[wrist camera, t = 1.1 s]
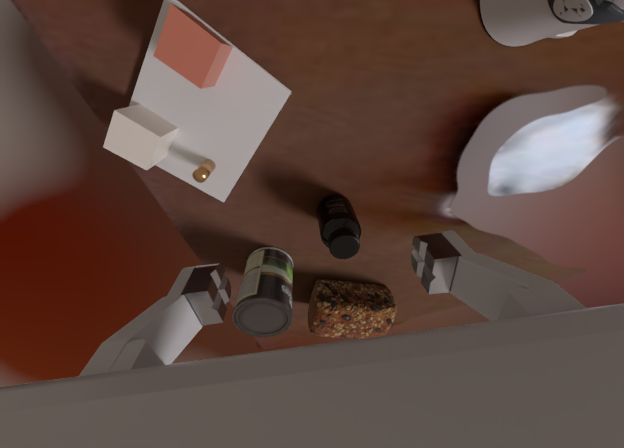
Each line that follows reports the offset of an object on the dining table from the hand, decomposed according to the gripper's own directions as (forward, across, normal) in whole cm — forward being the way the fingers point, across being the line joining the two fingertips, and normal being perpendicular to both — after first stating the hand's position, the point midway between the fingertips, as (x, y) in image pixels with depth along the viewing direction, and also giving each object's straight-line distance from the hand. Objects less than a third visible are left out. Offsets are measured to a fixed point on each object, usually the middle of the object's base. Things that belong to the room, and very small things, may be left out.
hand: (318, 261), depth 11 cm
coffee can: (+34, +11, +28) cm, 46 cm away
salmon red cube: (+33, +11, -10) cm, 36 cm away
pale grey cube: (+33, +22, -2) cm, 40 cm away
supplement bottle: (+34, -4, +17) cm, 38 cm away
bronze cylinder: (+33, +16, +4) cm, 37 cm away
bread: (+34, -6, +41) cm, 54 cm away
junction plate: (+34, +15, -3) cm, 37 cm away
